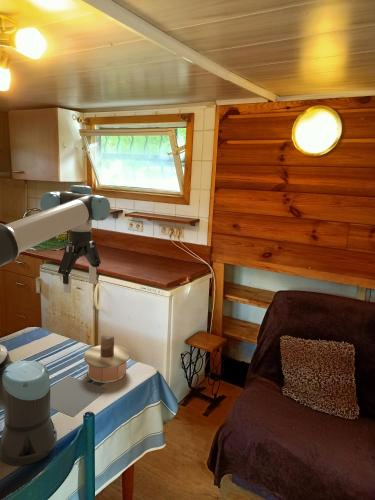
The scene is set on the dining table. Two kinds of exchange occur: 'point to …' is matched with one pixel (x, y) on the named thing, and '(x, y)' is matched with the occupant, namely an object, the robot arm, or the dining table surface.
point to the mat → (73, 395)
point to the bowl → (106, 373)
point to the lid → (106, 354)
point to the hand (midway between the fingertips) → (80, 287)
